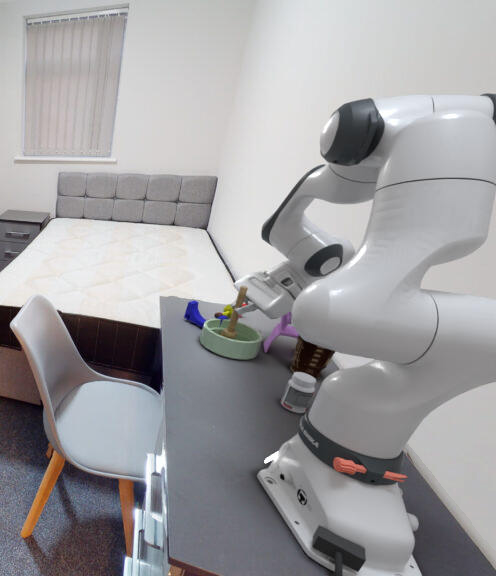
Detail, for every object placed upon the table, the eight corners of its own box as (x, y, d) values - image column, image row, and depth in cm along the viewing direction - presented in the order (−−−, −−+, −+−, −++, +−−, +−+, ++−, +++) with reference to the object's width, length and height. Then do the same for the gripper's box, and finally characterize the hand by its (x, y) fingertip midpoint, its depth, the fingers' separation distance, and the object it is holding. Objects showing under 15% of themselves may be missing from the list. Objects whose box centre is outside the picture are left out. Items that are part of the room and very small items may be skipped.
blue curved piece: (225, 332, 118) (231, 316, 116) (216, 335, 117) (222, 319, 114) (192, 314, 128) (197, 299, 125) (183, 317, 126) (188, 302, 124)
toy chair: (303, 363, 103) (323, 315, 98) (265, 353, 108) (282, 307, 102) (298, 350, 110) (317, 304, 104) (263, 341, 114) (278, 297, 108)
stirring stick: (237, 339, 108) (253, 290, 102) (223, 337, 109) (238, 288, 103) (234, 333, 111) (249, 285, 105) (220, 331, 112) (235, 284, 106)
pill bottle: (310, 415, 84) (323, 384, 81) (286, 412, 85) (299, 381, 81) (298, 401, 88) (310, 372, 85) (276, 398, 89) (287, 369, 86)
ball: (231, 343, 112) (234, 334, 111) (220, 341, 112) (222, 332, 111) (228, 339, 114) (231, 330, 113) (217, 337, 115) (220, 328, 114)
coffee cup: (311, 364, 103) (328, 323, 98) (334, 382, 95) (354, 339, 90) (278, 362, 104) (293, 321, 99) (298, 380, 96) (316, 336, 91)
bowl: (263, 365, 102) (270, 346, 100) (204, 355, 106) (209, 337, 104) (247, 340, 115) (253, 323, 113) (195, 332, 119) (200, 315, 117)
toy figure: (222, 332, 119) (228, 313, 117) (205, 324, 124) (210, 306, 121) (252, 320, 128) (258, 302, 125) (236, 314, 132) (241, 296, 129)
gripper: (257, 261, 111) (214, 289, 116) (298, 287, 92) (244, 318, 98) (269, 276, 112) (225, 303, 117) (312, 305, 93) (258, 334, 99)
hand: (234, 310), depth 107 cm, fingers closed on stirring stick, 2 cm apart
